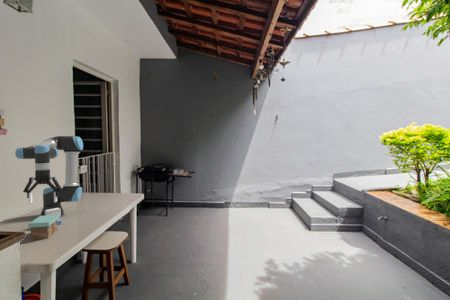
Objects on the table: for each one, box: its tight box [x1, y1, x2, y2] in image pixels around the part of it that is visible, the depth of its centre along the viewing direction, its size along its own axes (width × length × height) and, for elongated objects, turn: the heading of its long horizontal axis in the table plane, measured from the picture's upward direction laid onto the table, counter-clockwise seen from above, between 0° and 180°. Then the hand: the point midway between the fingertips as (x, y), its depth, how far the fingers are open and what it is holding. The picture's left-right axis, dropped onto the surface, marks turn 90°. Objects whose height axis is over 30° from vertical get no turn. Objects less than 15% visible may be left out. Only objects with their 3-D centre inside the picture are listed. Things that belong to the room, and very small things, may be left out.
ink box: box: [45, 208, 62, 226], centre depth 171 cm, size 9×5×12 cm, turn 141°
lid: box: [27, 215, 59, 229], centre depth 154 cm, size 15×11×4 cm
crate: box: [30, 220, 58, 241], centre depth 154 cm, size 14×9×8 cm, turn 15°
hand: (43, 202), depth 151 cm, fingers open, 13 cm apart
